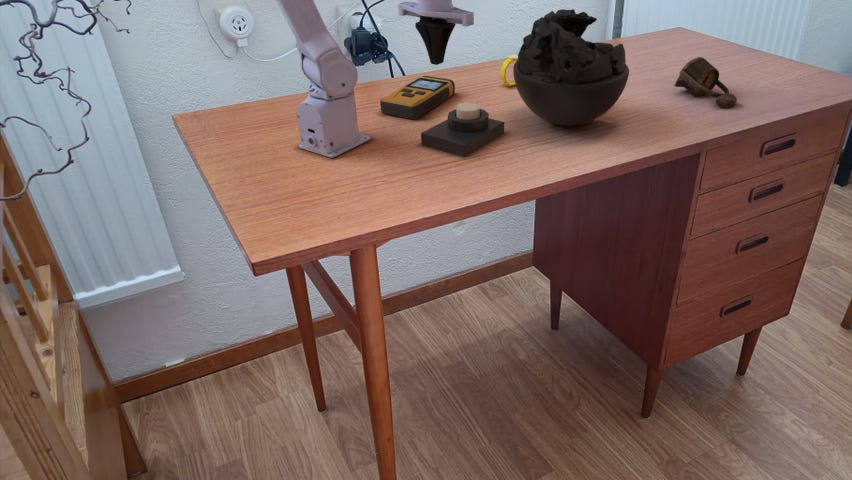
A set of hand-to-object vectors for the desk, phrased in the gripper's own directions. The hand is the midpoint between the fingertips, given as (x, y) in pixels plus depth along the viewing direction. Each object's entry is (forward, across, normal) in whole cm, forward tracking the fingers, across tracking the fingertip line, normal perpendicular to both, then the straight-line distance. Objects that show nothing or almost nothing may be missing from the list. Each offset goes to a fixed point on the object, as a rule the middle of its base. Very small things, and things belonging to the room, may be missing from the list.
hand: (437, 63), depth 115 cm
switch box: (+10, -9, +5) cm, 15 cm away
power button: (+7, -9, +4) cm, 12 cm away
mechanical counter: (+11, -36, -38) cm, 54 cm away
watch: (+11, -1, -24) cm, 26 cm away
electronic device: (+11, +8, -4) cm, 14 cm away
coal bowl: (+11, -20, -12) cm, 26 cm away
